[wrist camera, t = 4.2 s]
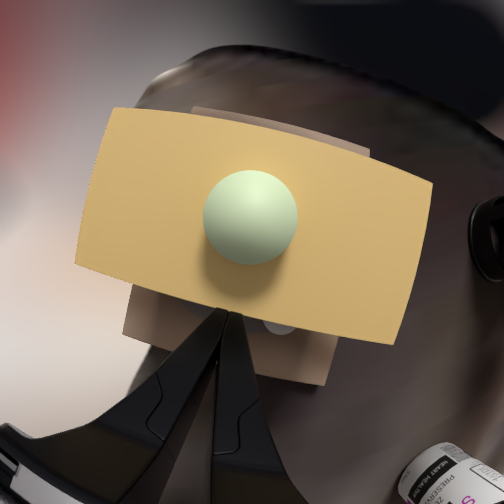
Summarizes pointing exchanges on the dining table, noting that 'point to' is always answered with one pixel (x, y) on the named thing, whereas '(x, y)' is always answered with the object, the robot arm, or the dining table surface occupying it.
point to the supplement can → (450, 478)
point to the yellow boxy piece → (255, 222)
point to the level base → (263, 346)
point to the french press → (485, 238)
